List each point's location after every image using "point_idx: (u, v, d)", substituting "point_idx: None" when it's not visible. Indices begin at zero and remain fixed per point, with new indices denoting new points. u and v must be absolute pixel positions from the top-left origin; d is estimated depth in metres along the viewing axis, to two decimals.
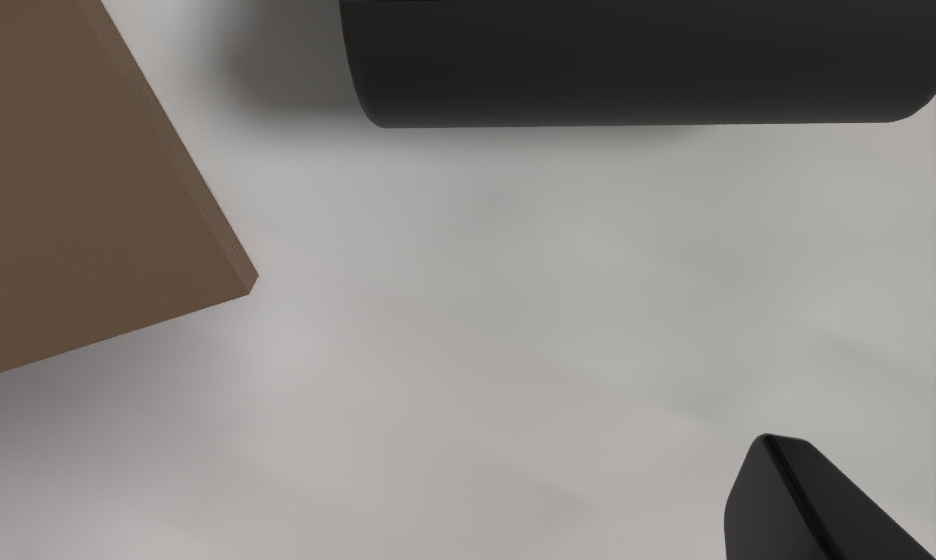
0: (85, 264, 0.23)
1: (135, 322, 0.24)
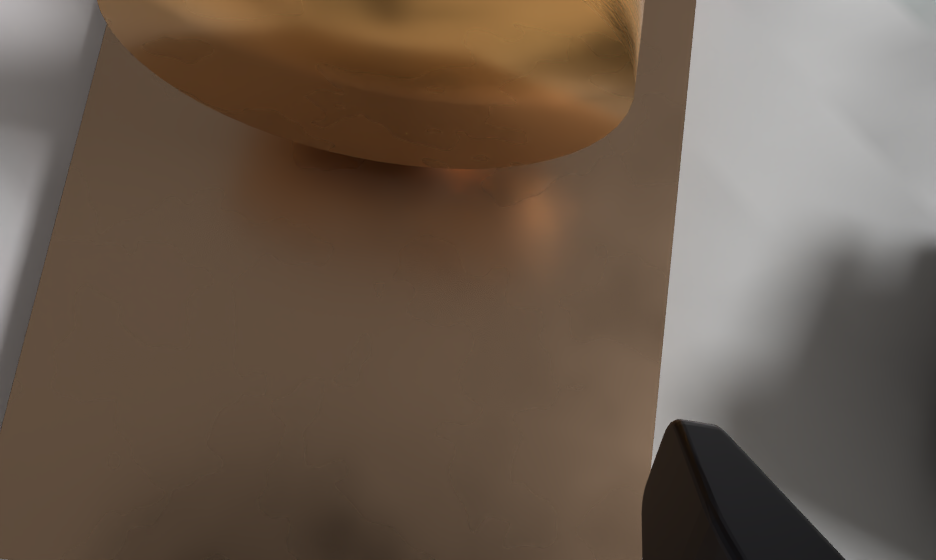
0: (474, 513, 0.19)
1: None
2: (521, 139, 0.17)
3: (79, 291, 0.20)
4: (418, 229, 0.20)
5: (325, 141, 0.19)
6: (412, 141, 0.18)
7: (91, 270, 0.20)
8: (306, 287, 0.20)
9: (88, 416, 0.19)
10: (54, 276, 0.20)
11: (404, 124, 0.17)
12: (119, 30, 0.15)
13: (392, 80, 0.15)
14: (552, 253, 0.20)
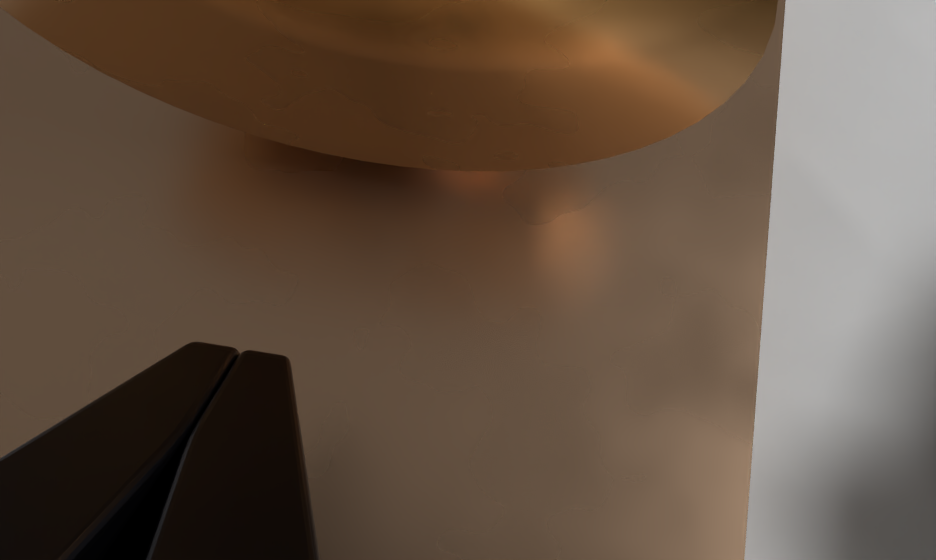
0: None
1: None
2: (570, 126, 0.12)
3: None
4: (416, 255, 0.15)
5: (284, 130, 0.13)
6: (408, 130, 0.13)
7: None
8: (258, 335, 0.14)
9: None
10: None
11: (395, 103, 0.12)
12: None
13: (375, 28, 0.10)
14: (600, 290, 0.15)
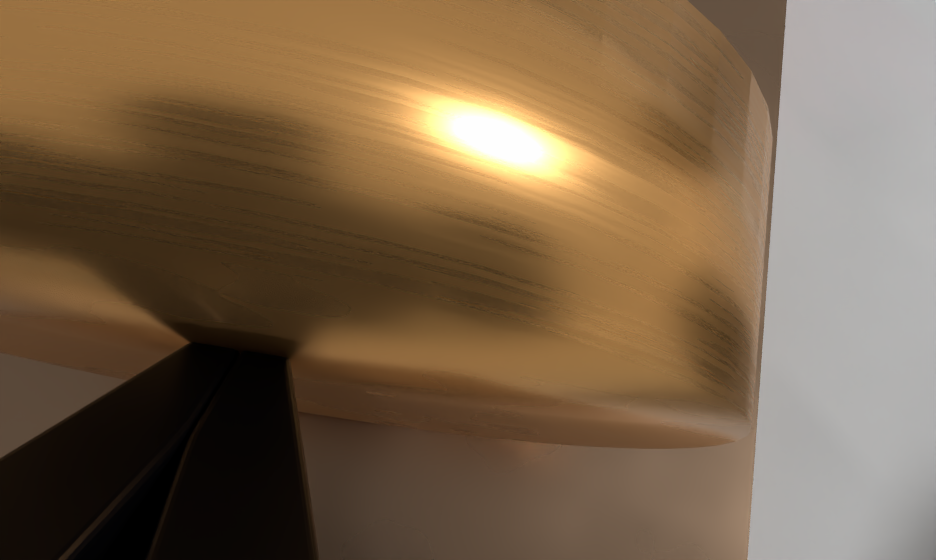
0: None
1: None
2: (530, 432, 0.10)
3: None
4: (371, 510, 0.14)
5: None
6: (356, 412, 0.11)
7: None
8: None
9: None
10: None
11: (338, 403, 0.11)
12: None
13: (304, 381, 0.09)
14: (571, 546, 0.14)
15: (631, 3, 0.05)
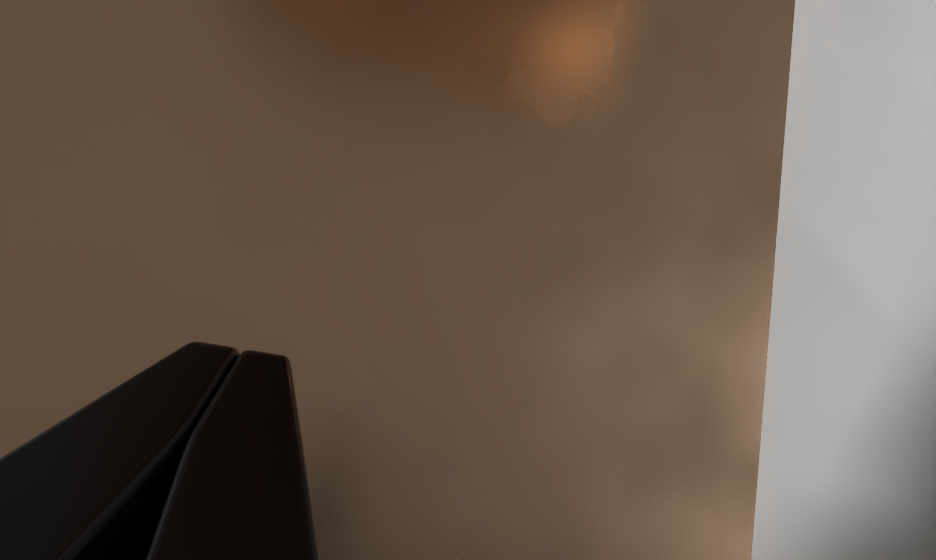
0: None
1: None
2: None
3: None
4: (402, 333, 0.14)
5: None
6: None
7: None
8: None
9: None
10: None
11: None
12: None
13: None
14: (595, 368, 0.14)
15: None
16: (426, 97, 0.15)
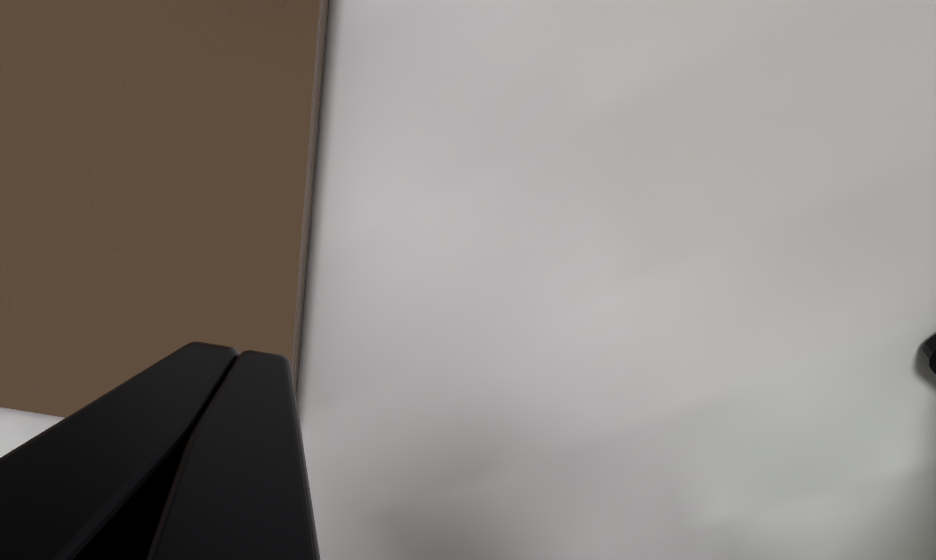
0: (199, 49, 0.17)
1: (305, 55, 0.17)
2: None
3: (58, 389, 0.22)
4: None
5: None
6: None
7: (37, 381, 0.22)
8: (1, 211, 0.19)
9: None
10: (50, 406, 0.22)
11: None
12: None
13: None
14: None
15: None
16: None
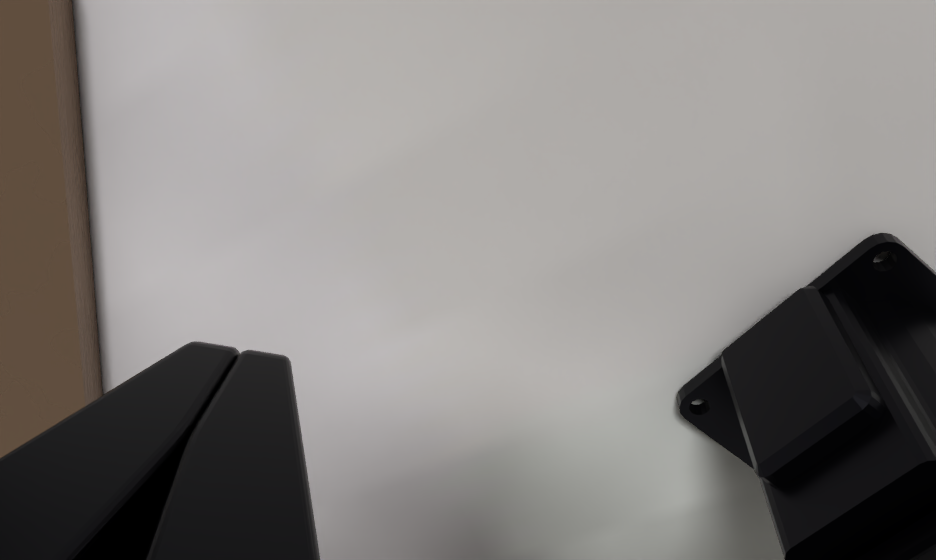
0: None
1: (51, 139, 0.19)
2: None
3: None
4: None
5: None
6: None
7: None
8: None
9: None
10: None
11: None
12: None
13: None
14: None
15: None
16: None
